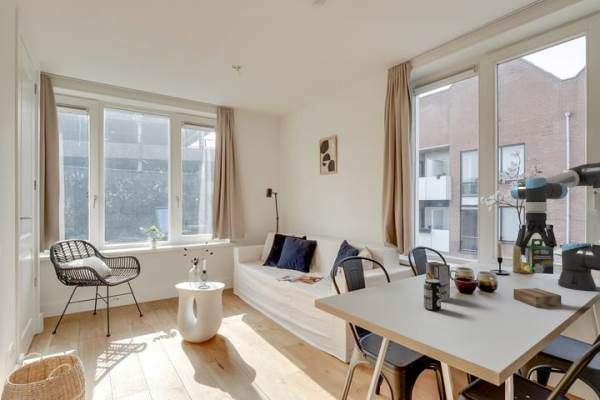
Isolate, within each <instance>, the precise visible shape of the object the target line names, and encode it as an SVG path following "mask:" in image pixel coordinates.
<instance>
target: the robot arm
mask: <svg viewBox="0 0 600 400" xmlns="http://www.w3.org/2000/svg"><path fill="white" fill-rule="evenodd" d="M574 187H592V189H593V190H594V191H595V192H596V233H595V234H596V236H595V237H596V239H595V241H593V242H592V243H589V242H585V243H584V242H581V243H580V242H578V243H577V242H576V243H575V242H574V243H563V245H562V247H561V273H560V276H559V278H558V279H557V285H558V286H560V287H564V288H566V289H571V290H579V291H596V290H597V284H596V282H595V279H594V278H593V274H592V271H597V272H600V162H592V163H585V164H584V163H583V164H581V165H577V166H573V167H570V168H568V169H564V170H562V171H561V172H560V173H557V174H554V175H550V176H548V177H545V176H544V177H543V176H541V177H539V176H537V177H536V176H535V177H528V178H527V179H526V180H525V183H519V184H514V185H513V186H511V188H510V191H509V192H510V195H511V198H512V199H514V200H521V201H522V200H525V222H526V223H524V224H518V227H519V228H518V229H519V230H518V234H517V237H516V242H515V246H516V247H519V255H520V254H521V255H522V262H524V263H528V248H526V246H527V245H529V242H530V241H531V240H532V237H533V236H534V235H535V234H538V235H539V236H540V239H543V244H544V246H548V247H552V248H554V249H555V247H558V244H557V240H556V237H555V232H554V225H553V224H548V223H547V222H546V221H548V219H547V218H548V214H547V213H546V212H548V210H547V209H548V208H547V207H548V206H547V205H548V203H547V201H548V200H561V199H564V198H565V197H566V196H568V192H569V189H568V188H574Z"/></svg>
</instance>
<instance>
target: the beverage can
mask: <svg viewBox="0 0 600 400" xmlns="http://www.w3.org/2000/svg"><path fill="white" fill-rule="evenodd" d="M423 307H424V308H425V310H427V311H430V312H431V311H432V312H439V311H440V310H441V309H442V301H441V284H440V281H439V280H437V279H426V278H425V279H424V282H423Z"/></svg>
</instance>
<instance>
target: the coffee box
mask: <svg viewBox="0 0 600 400" xmlns="http://www.w3.org/2000/svg"><path fill="white" fill-rule="evenodd" d="M450 269H451V267H450V264H445V263H441V262H438V261H431V262H430V261H429V262H425V271H426V272H425V277H426V278H425V279H437V280H439V281H440V284H441V302H447V301H451V279H450V278H451V277H450V275H451V273H450V272H451V270H450Z"/></svg>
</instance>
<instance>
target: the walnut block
mask: <svg viewBox="0 0 600 400" xmlns="http://www.w3.org/2000/svg"><path fill="white" fill-rule="evenodd" d="M513 300H514V301H517V302H520V303H522V304H524V305H525V304H526V305H528V306H531V307H533V308H537V309H538V308H542V309H543V308H557V307H558V308H559V307H562V295H560V294H557V293H555V292H551V291H547V290H544V289H540V288H537V287H534V288H532V287H531V288H513Z"/></svg>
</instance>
